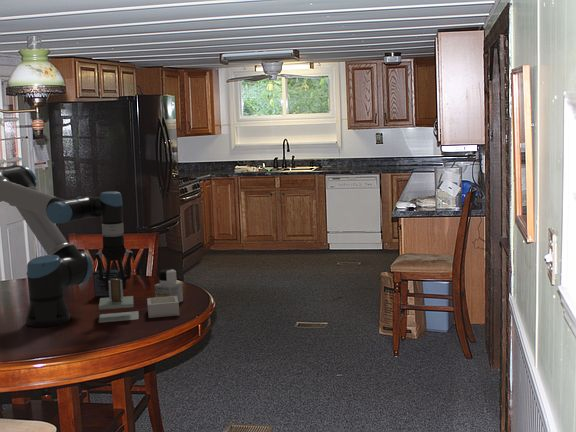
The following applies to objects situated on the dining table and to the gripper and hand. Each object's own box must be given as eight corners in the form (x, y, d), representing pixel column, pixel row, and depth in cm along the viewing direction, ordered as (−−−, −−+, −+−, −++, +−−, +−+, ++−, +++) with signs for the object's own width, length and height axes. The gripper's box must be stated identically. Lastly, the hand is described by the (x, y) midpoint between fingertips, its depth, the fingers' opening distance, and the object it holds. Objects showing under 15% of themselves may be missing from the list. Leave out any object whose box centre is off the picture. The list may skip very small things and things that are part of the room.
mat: (98, 323, 274) (98, 322, 274) (99, 315, 286) (99, 314, 286) (138, 319, 277) (138, 319, 277) (138, 311, 289) (138, 311, 289)
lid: (99, 309, 274) (97, 284, 273) (100, 301, 286) (98, 276, 285) (133, 307, 277) (132, 281, 275) (133, 299, 288) (132, 274, 287)
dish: (148, 318, 278) (147, 305, 278) (148, 311, 289) (147, 298, 288) (179, 315, 280) (178, 302, 280) (177, 308, 291) (176, 295, 290)
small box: (124, 293, 320) (122, 268, 319) (119, 297, 314) (117, 272, 313) (99, 294, 322) (97, 269, 320) (94, 298, 315) (92, 272, 314)
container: (155, 304, 300) (153, 271, 298) (167, 299, 306) (165, 267, 305) (171, 305, 296) (169, 272, 294) (183, 301, 303) (181, 268, 301)
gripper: (88, 237, 272) (92, 302, 276) (136, 235, 276) (139, 299, 279) (89, 234, 280) (93, 297, 283) (136, 232, 283) (139, 294, 286)
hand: (116, 298), depth 281 cm, fingers closed on lid, 3 cm apart
